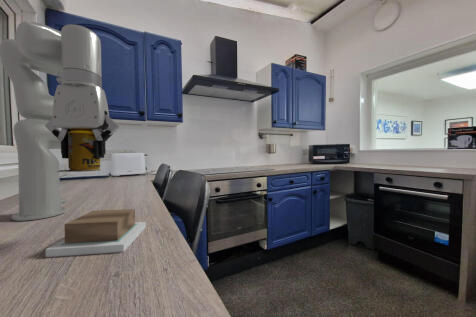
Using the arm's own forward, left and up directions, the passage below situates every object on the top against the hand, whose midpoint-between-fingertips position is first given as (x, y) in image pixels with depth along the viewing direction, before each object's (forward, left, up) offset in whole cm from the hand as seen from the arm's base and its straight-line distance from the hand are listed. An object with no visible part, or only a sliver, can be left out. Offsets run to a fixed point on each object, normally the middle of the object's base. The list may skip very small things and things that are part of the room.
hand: (84, 157), depth 47 cm
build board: (+2, +5, -19) cm, 20 cm away
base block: (+2, +5, -18) cm, 19 cm away
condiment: (0, -1, -4) cm, 4 cm away
